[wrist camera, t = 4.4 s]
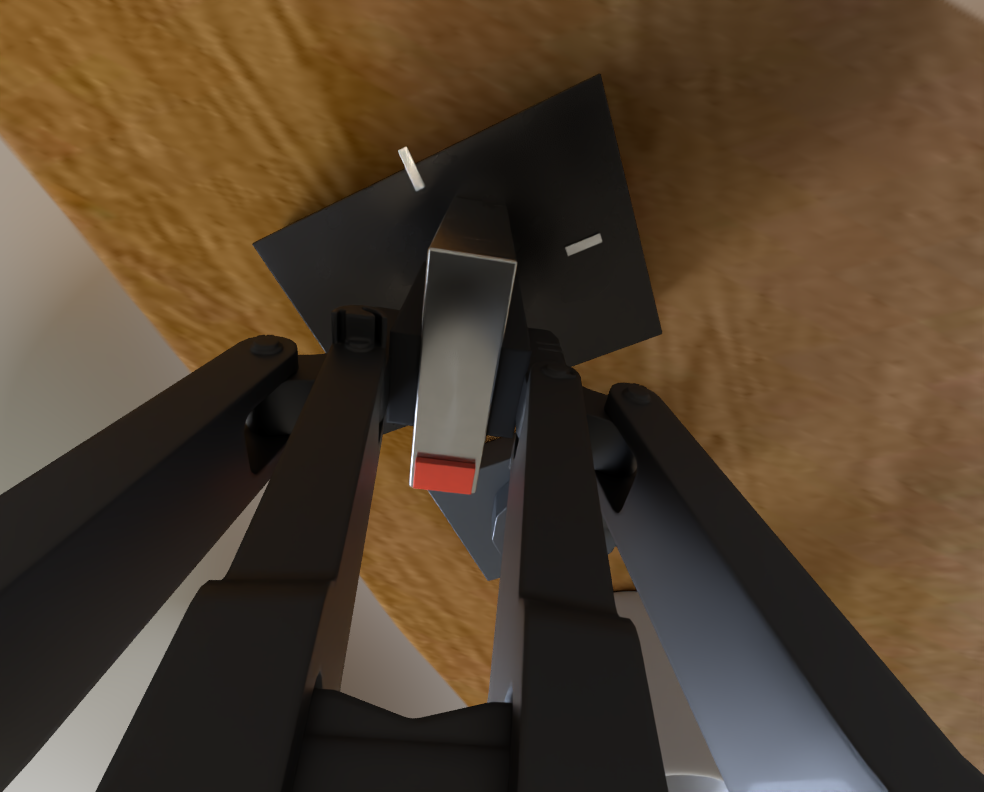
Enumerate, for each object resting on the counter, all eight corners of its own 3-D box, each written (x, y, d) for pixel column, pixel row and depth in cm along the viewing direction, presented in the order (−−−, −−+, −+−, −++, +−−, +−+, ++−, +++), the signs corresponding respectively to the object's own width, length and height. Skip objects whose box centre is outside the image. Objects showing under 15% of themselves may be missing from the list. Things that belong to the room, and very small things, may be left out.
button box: (625, 395, 25) (647, 439, 21) (659, 505, 29) (681, 556, 25) (429, 461, 27) (420, 510, 24) (487, 554, 31) (487, 607, 28)
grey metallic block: (453, 196, 16) (425, 249, 9) (506, 205, 17) (519, 264, 10) (436, 363, 20) (406, 493, 13) (480, 369, 20) (475, 500, 13)
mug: (620, 574, 32) (673, 758, 23) (698, 616, 35) (773, 796, 26) (517, 649, 37) (526, 825, 28) (592, 681, 40) (623, 851, 31)
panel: (579, 62, 17) (596, 50, 14) (645, 320, 22) (666, 347, 20) (273, 215, 20) (239, 229, 17) (397, 411, 25) (386, 446, 22)
